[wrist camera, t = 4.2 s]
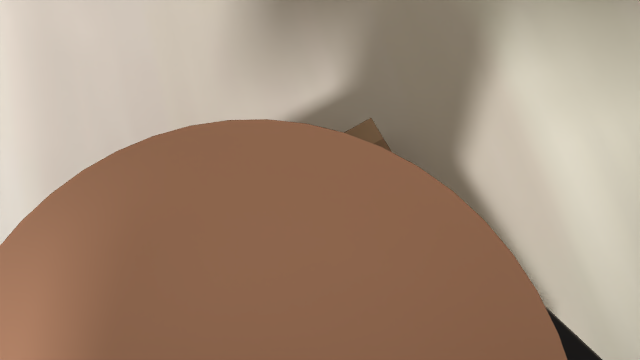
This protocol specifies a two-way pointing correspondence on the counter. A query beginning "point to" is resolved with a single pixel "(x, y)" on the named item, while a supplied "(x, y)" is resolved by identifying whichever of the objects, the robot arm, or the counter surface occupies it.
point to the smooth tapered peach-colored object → (263, 258)
